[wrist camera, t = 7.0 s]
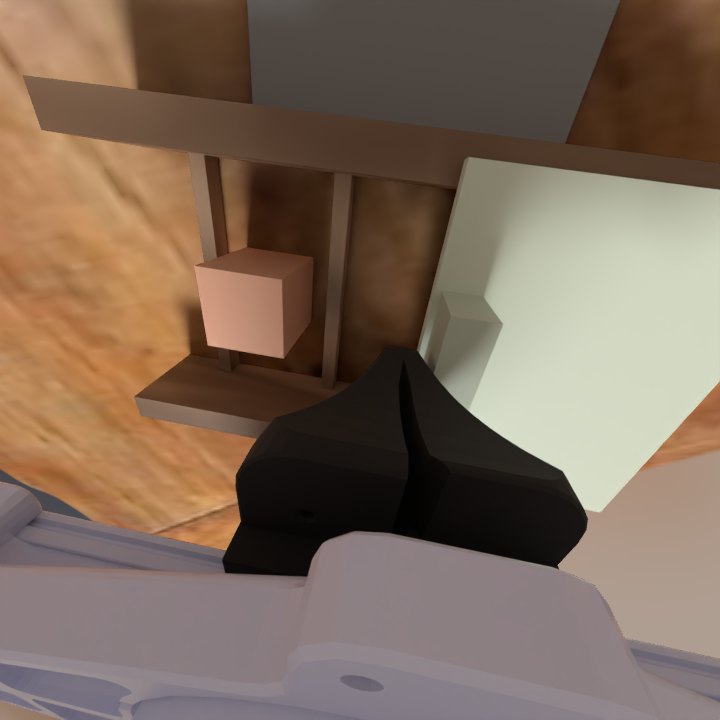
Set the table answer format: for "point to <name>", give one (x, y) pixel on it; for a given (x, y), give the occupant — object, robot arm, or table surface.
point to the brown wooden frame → (347, 160)
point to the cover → (577, 314)
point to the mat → (431, 60)
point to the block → (256, 300)
